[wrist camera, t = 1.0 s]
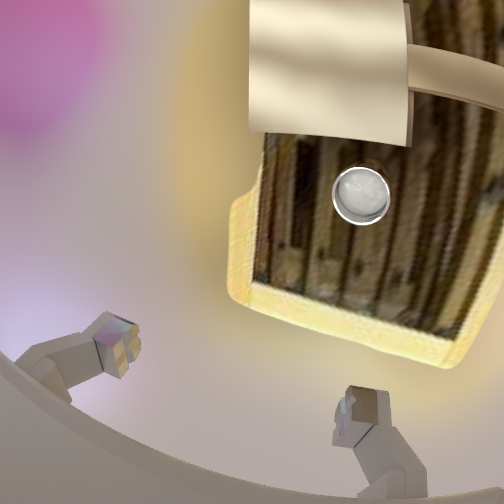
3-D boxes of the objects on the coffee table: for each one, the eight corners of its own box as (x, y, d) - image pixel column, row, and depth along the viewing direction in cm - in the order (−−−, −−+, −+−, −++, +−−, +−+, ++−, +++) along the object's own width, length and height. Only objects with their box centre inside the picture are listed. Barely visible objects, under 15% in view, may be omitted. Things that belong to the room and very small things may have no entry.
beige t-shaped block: (256, 3, 17) (247, -3, 16) (524, 36, 9) (532, 31, 8) (255, 131, 22) (246, 131, 20) (526, 176, 14) (534, 180, 12)
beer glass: (399, 178, 41) (405, 199, 28) (369, 208, 45) (360, 239, 32) (367, 145, 41) (359, 151, 29) (338, 176, 45) (317, 195, 33)
